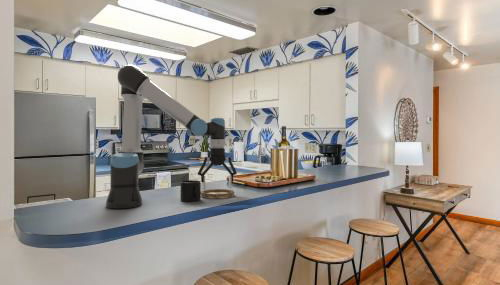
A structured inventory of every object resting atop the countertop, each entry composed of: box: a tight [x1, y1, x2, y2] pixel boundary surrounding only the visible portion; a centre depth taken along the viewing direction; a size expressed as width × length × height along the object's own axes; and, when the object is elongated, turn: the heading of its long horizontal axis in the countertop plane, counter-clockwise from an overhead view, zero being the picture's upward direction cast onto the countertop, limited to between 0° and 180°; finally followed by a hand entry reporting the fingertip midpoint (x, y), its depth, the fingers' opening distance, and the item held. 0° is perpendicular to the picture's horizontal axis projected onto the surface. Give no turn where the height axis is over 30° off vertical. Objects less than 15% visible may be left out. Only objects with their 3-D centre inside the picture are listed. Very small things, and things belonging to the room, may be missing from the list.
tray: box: [201, 188, 235, 200], centre depth 161 cm, size 17×17×2 cm
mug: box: [180, 179, 202, 203], centre depth 147 cm, size 9×12×9 cm
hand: (217, 188), depth 161 cm, fingers open, 13 cm apart
